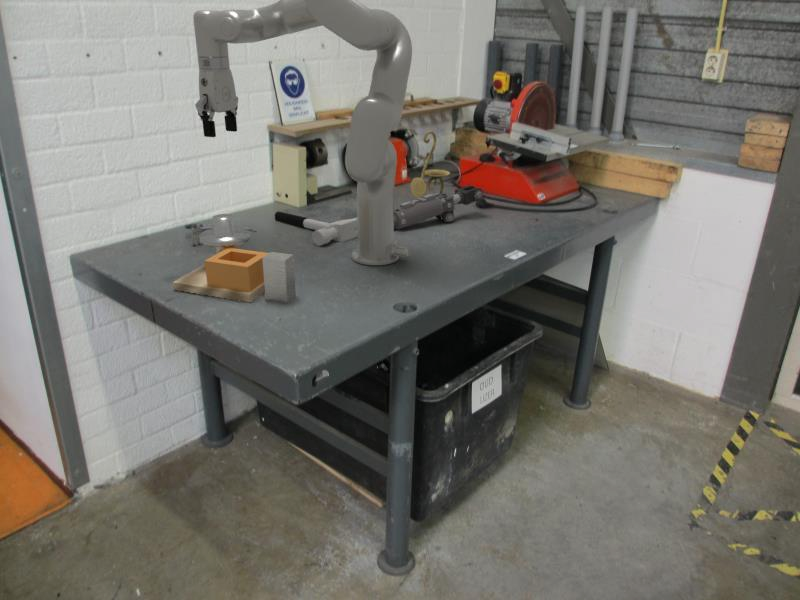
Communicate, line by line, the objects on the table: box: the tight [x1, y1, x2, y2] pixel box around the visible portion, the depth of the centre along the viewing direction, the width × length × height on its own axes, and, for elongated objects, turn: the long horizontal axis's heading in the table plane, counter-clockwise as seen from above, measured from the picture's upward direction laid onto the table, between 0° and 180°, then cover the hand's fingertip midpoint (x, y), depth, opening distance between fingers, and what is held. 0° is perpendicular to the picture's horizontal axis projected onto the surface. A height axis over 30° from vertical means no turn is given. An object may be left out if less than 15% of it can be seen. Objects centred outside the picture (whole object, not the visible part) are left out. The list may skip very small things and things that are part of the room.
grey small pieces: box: [190, 223, 257, 247], centre depth 180 cm, size 20×1×6 cm, turn 135°
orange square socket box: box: [172, 213, 270, 303], centre depth 150 cm, size 21×21×14 cm
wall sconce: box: [410, 130, 451, 199], centre depth 213 cm, size 14×10×25 cm
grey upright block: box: [262, 251, 297, 304], centre depth 141 cm, size 6×4×10 cm
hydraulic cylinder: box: [394, 184, 484, 231], centre depth 196 cm, size 7×37×10 cm, turn 122°
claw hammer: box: [274, 211, 357, 247], centre depth 190 cm, size 6×22×30 cm
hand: (221, 133), depth 165 cm, fingers open, 9 cm apart
